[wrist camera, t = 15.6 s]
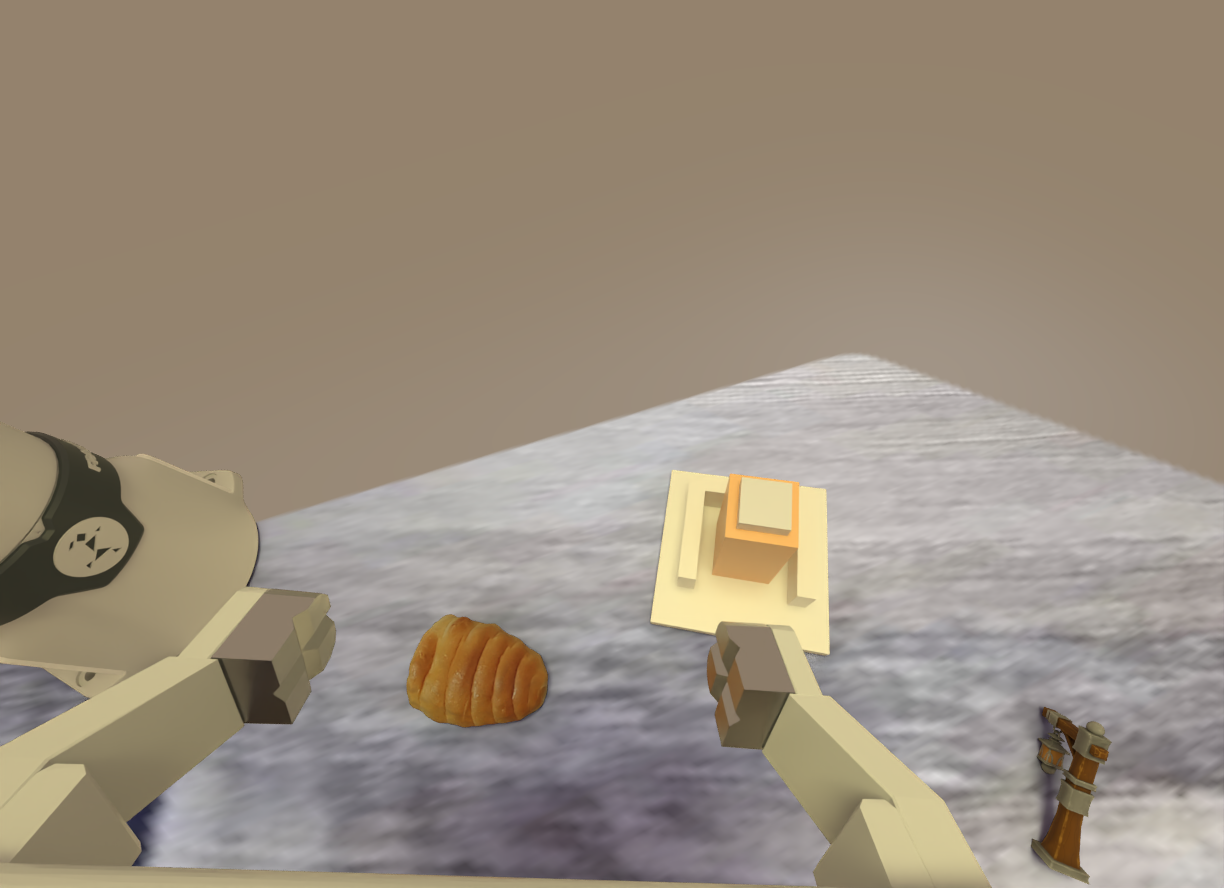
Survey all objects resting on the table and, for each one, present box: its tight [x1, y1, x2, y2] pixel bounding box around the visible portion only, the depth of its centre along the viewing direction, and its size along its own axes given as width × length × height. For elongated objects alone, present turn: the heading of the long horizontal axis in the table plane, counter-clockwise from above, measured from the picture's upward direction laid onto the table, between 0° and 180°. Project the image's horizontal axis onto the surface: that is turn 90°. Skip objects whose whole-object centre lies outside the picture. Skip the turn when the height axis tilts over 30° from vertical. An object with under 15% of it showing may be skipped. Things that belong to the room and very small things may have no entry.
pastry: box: [407, 614, 548, 727], centre depth 33 cm, size 9×7×4 cm
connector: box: [712, 474, 799, 584], centre depth 31 cm, size 4×4×10 cm
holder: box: [650, 470, 829, 656], centre depth 35 cm, size 12×12×4 cm
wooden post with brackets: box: [1031, 707, 1112, 885], centre depth 27 cm, size 2×8×4 cm, turn 160°
